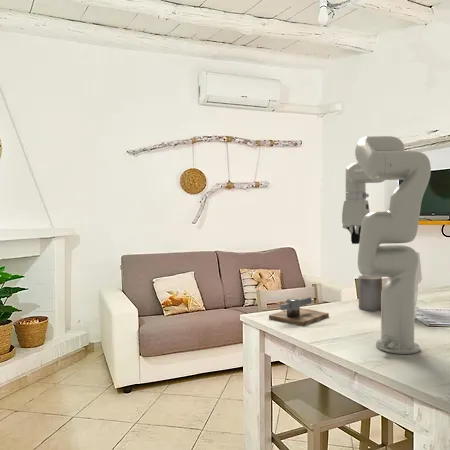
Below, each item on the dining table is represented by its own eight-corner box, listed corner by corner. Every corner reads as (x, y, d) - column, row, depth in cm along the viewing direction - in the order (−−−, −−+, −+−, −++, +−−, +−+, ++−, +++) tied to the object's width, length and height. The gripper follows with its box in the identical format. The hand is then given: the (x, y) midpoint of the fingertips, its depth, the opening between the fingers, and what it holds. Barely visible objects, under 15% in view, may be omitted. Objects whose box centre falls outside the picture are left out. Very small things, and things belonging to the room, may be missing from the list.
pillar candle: (374, 305, 196) (373, 271, 196) (387, 310, 187) (386, 274, 186) (354, 307, 194) (353, 273, 193) (366, 312, 184) (365, 276, 184)
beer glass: (419, 320, 170) (419, 281, 170) (400, 319, 172) (400, 280, 171) (415, 315, 177) (415, 278, 176) (397, 315, 178) (397, 277, 178)
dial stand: (303, 325, 164) (303, 321, 164) (269, 318, 175) (268, 314, 175) (329, 316, 177) (329, 312, 177) (295, 310, 188) (295, 307, 188)
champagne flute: (401, 307, 191) (401, 252, 190) (413, 306, 193) (413, 251, 192) (412, 311, 184) (412, 253, 184) (425, 309, 187) (425, 252, 186)
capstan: (287, 319, 166) (287, 303, 166) (276, 317, 170) (276, 301, 170) (314, 311, 179) (314, 296, 179) (304, 309, 182) (304, 294, 182)
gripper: (378, 196, 172) (378, 243, 173) (342, 197, 183) (343, 242, 183) (369, 196, 167) (369, 245, 168) (333, 197, 177) (333, 243, 178)
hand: (355, 243), depth 175 cm, fingers closed
